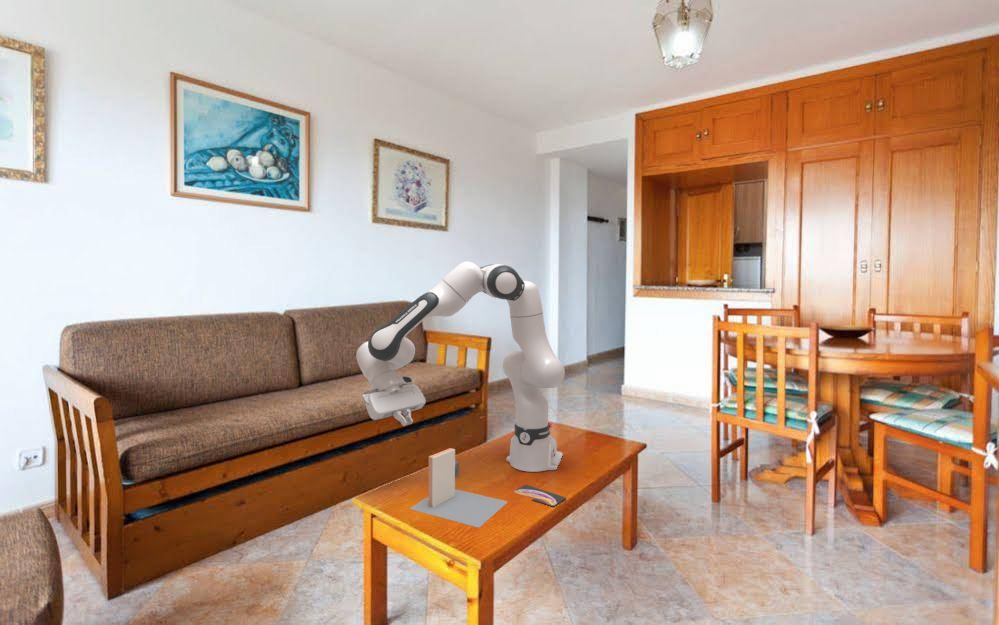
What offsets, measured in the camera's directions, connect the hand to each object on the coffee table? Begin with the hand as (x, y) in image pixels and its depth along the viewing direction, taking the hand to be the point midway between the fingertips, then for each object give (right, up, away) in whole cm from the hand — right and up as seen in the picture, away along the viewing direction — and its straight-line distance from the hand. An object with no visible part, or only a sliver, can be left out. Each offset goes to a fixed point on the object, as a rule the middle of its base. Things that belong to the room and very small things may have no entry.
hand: (408, 424), depth 149 cm
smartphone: (+39, -21, -2) cm, 45 cm away
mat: (+16, -21, -10) cm, 28 cm away
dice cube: (+11, -20, +10) cm, 25 cm away
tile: (+11, -20, -7) cm, 24 cm away
